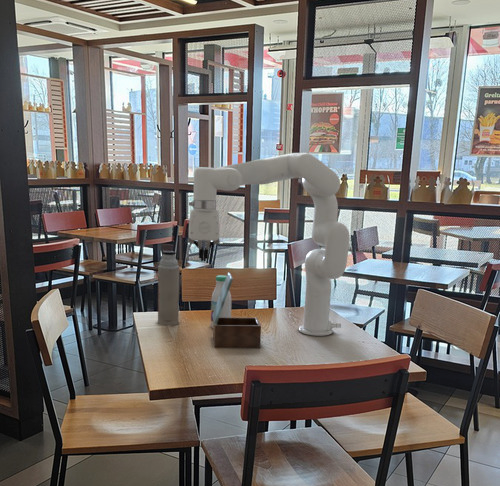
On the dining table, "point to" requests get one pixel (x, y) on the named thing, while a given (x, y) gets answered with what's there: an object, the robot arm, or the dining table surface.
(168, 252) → the thermos bottle
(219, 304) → the light blue flat slab
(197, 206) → the robot arm
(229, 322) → the brown wooden box
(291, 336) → the dining table surface
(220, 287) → the milk bottle
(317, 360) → the dining table surface
